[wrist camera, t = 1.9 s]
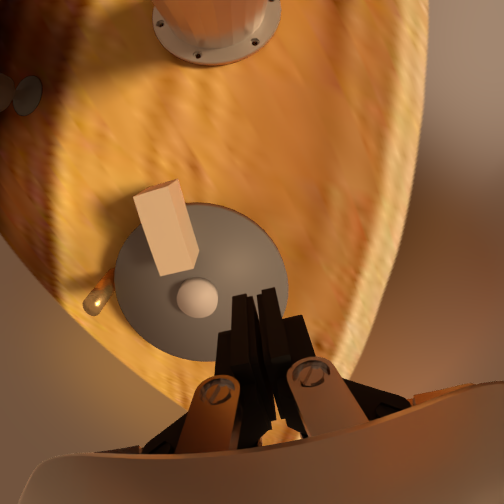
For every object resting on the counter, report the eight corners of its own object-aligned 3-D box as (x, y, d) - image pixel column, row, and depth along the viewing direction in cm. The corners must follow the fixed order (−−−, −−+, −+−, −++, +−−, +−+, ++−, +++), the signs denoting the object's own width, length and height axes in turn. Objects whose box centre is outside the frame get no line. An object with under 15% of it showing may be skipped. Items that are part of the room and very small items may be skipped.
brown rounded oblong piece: (113, 220, 30) (85, 242, 24) (247, 256, 32) (249, 287, 26) (106, 283, 33) (82, 314, 27) (227, 316, 35) (225, 355, 29)
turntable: (136, 165, 26) (114, 172, 21) (317, 215, 29) (333, 233, 24) (114, 330, 33) (98, 359, 28) (256, 366, 36) (259, 398, 31)
